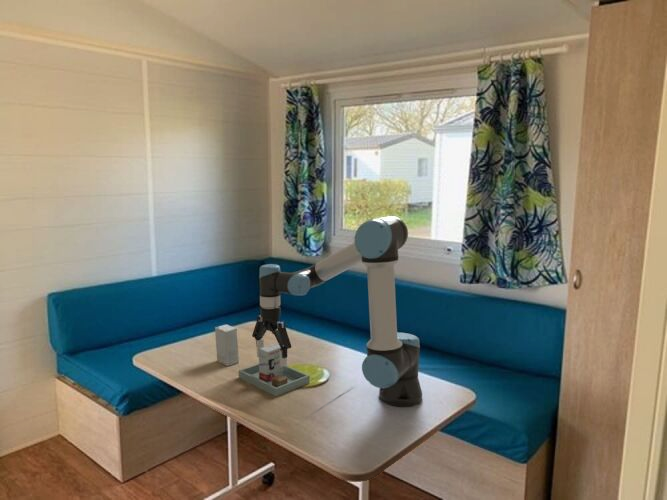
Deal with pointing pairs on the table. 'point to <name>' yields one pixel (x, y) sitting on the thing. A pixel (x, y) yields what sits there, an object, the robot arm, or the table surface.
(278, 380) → the walnut block
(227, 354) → the skincare box
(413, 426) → the table surface
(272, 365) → the ink box
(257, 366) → the tray
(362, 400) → the table surface
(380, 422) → the table surface
